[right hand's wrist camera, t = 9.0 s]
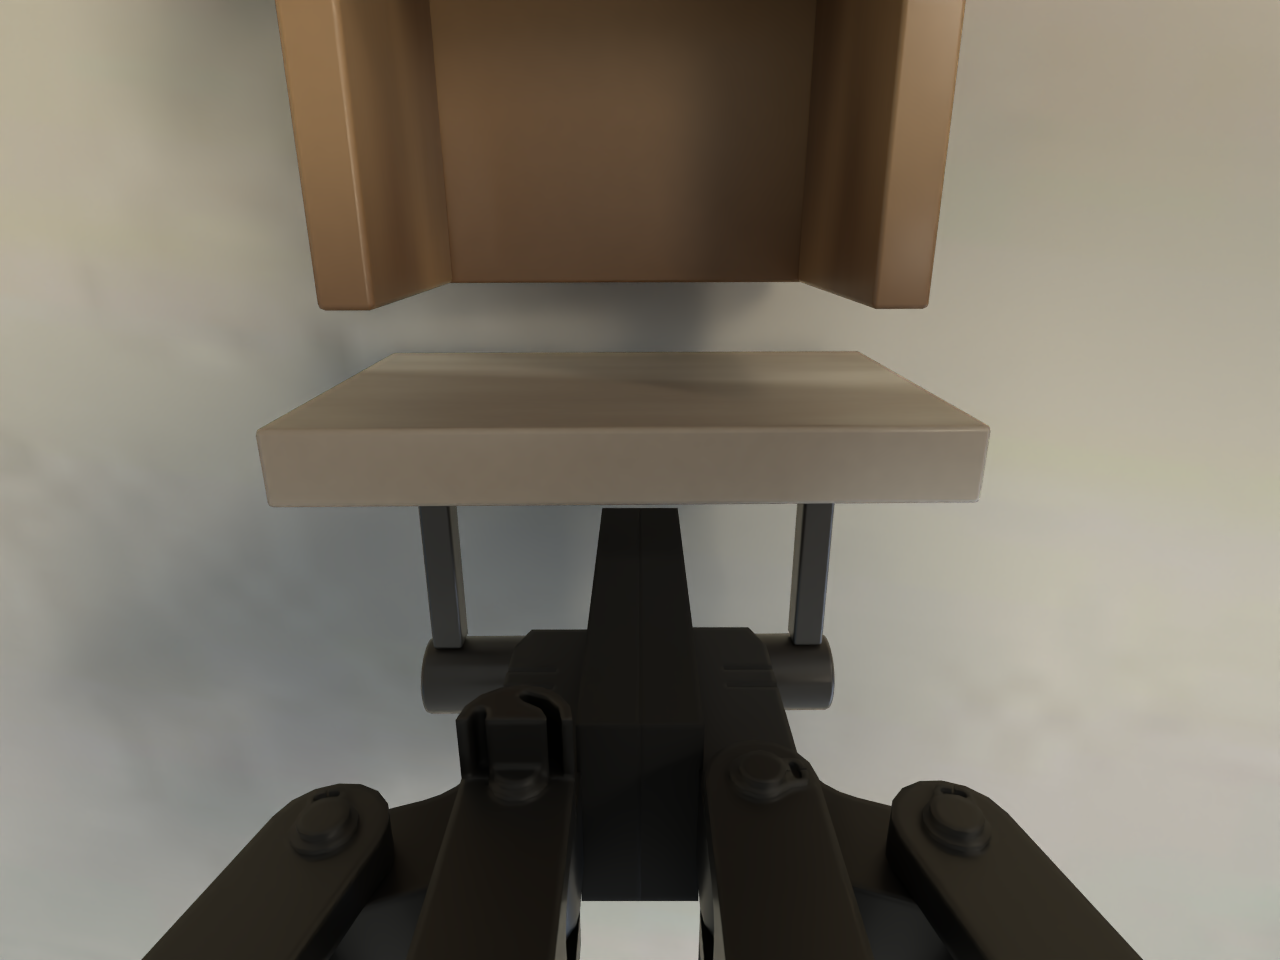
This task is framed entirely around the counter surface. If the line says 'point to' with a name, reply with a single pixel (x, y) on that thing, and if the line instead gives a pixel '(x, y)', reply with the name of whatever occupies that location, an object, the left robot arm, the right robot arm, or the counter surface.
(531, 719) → the right robot arm
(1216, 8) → the counter surface
